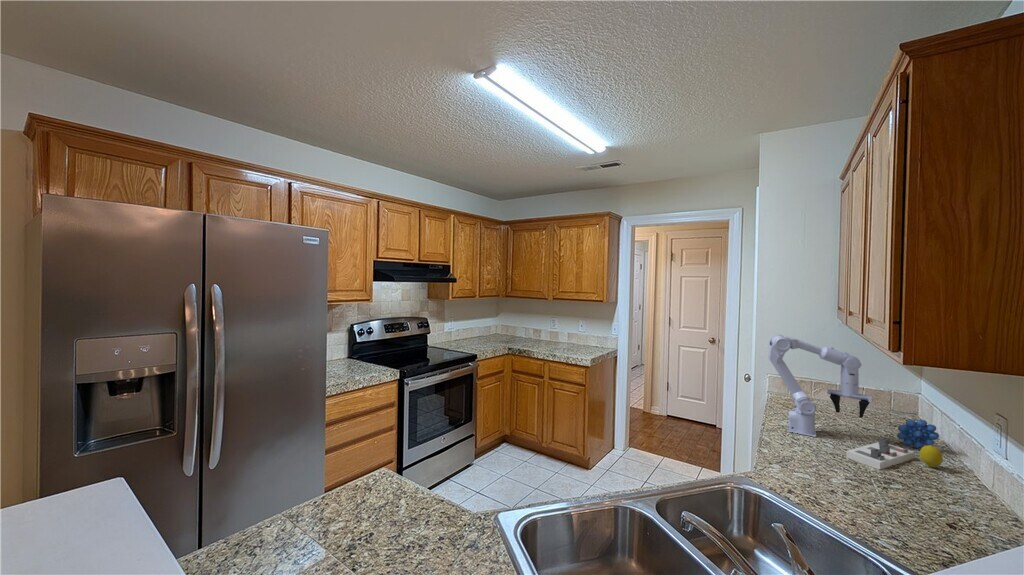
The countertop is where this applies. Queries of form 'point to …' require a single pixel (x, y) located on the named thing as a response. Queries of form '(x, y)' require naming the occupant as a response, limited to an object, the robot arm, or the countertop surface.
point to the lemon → (931, 456)
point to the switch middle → (884, 448)
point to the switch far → (883, 441)
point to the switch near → (875, 453)
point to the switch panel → (884, 460)
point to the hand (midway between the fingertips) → (849, 414)
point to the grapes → (917, 433)
